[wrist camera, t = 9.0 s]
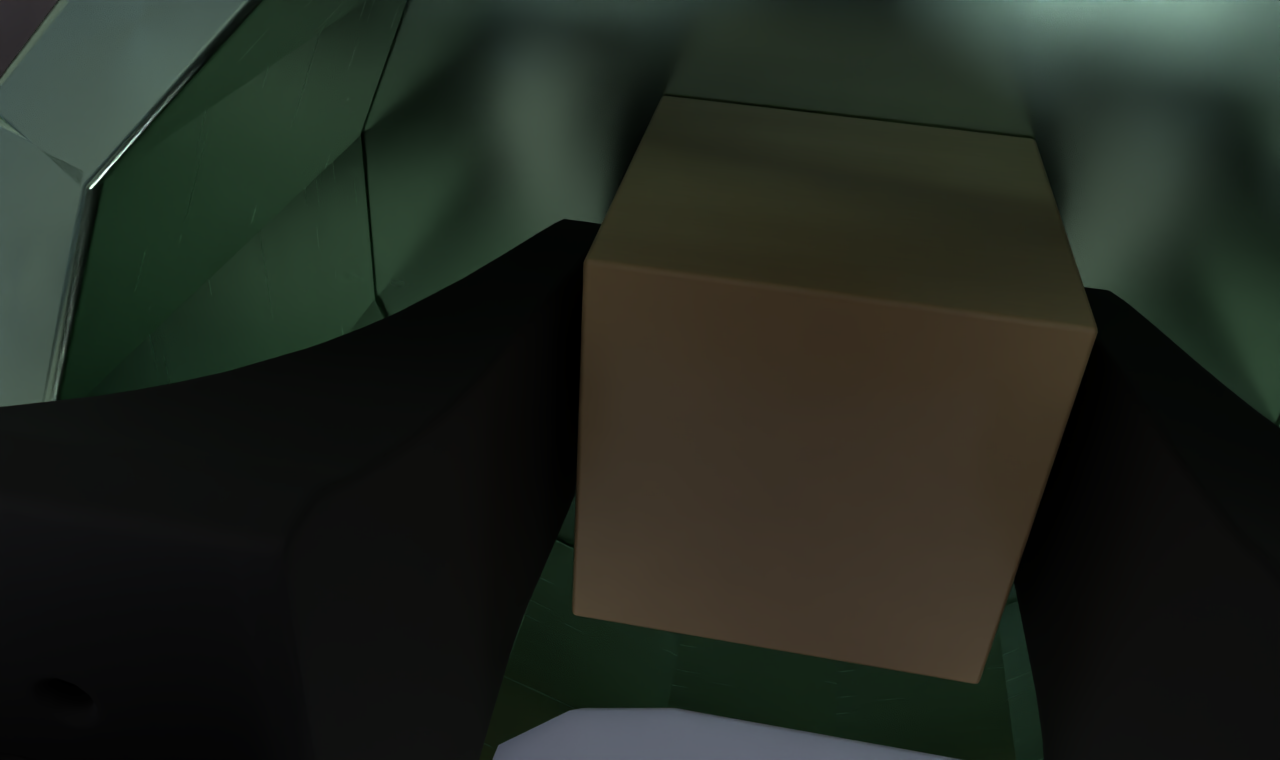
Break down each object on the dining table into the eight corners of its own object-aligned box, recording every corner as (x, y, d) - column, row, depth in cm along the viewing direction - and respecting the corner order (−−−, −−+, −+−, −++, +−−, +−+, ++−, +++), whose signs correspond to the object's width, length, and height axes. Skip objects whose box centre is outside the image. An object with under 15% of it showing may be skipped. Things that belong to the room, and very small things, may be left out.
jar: (361, 564, 18) (142, 957, 12) (253, -416, 11) (-373, -482, 5) (1190, 705, 16) (1344, 1217, 11) (1705, -318, 9) (2848, -273, 4)
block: (640, 394, 14) (570, 617, 11) (661, 92, 12) (582, 260, 9) (955, 441, 14) (979, 688, 11) (1037, 137, 12) (1100, 329, 8)
